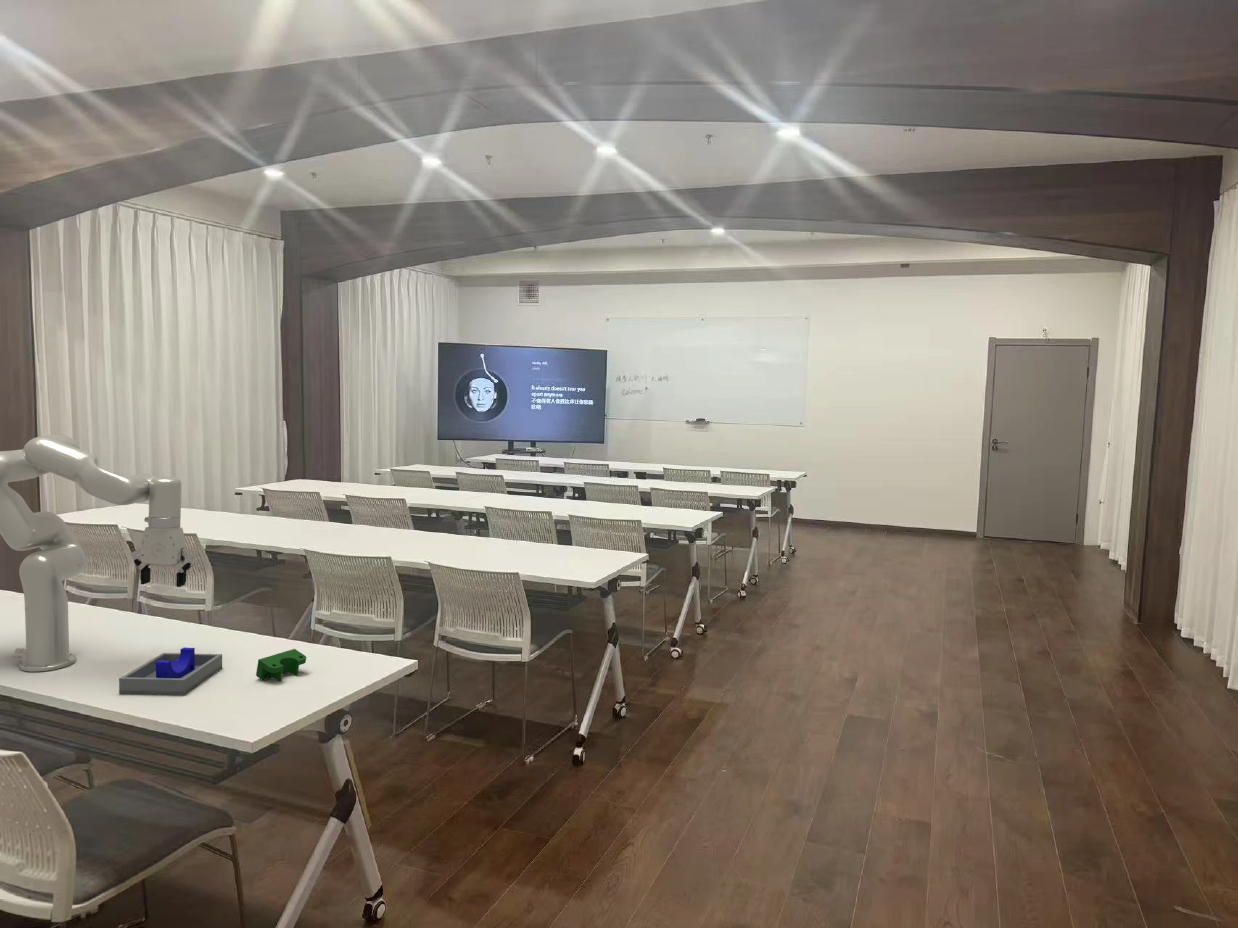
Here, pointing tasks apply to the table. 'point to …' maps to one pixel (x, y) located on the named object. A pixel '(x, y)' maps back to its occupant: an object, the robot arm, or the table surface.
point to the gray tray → (148, 684)
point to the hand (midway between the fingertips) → (163, 584)
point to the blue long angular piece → (177, 665)
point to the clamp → (280, 665)
